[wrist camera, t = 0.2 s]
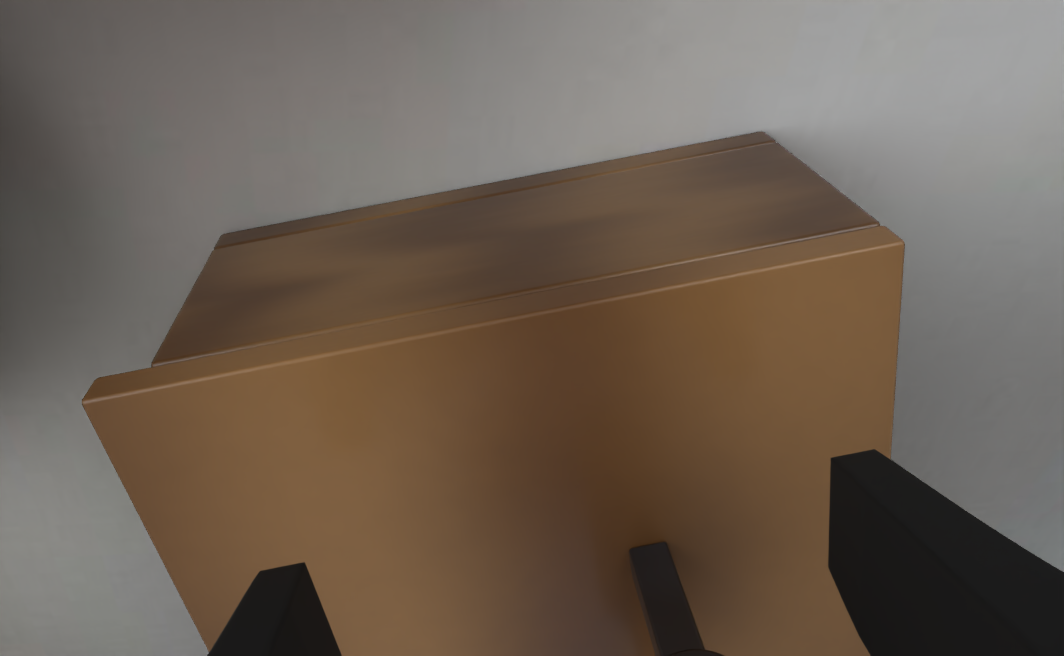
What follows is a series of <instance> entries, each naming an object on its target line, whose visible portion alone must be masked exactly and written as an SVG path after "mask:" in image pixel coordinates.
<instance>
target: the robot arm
mask: <svg viewBox="0 0 1064 656" xmlns="http://www.w3.org/2000/svg"><path fill="white" fill-rule="evenodd" d="M828 568H829V570H830V573H831V575H832V577H833V580H834V582H835V584H836V586H837V589H838V591H839V593H840V596H841V598H842V600H843V603H844V605H845V607H846V609H847V611H848V613H849V616H850V618H851V620H852V622H853V624H854V626H855V628H856V631H857V633H858V635H859V637H860V639H861V640H862V642H863V644H864V645H865V647H866V649H867V650H868V652H869V654H870V656H1064V572H1062V571H1060V570H1059V569H1057V568H1055V567H1054V566H1052V565H1050V564H1049V563H1047V562H1045V561H1044V560H1042V559H1040V558H1039V557H1037V556H1035V555H1034V554H1032V553H1031V552H1029V551H1027V550H1026V549H1024V548H1022V547H1021V546H1019V545H1018V544H1016V543H1015V542H1013V541H1011V540H1010V539H1008V538H1007V537H1005V536H1003V535H1002V534H1000V533H999V532H997V531H996V530H994V529H993V528H991V527H989V526H988V525H986V524H985V523H983V522H982V521H980V520H979V519H977V518H976V517H974V516H973V515H971V514H970V513H968V512H967V511H965V510H964V509H962V508H961V507H959V506H958V505H956V504H955V503H953V502H952V501H950V500H949V499H947V498H946V497H944V496H943V495H941V494H940V493H939V492H937V491H936V490H934V489H933V488H931V487H930V486H928V485H927V484H925V483H924V482H922V481H921V480H920V479H918V478H917V477H915V476H914V475H912V474H911V473H909V472H908V471H906V470H905V469H904V468H902V467H901V466H899V465H898V464H896V463H895V462H893V461H892V460H890V459H889V458H887V457H886V456H884V455H883V454H881V453H880V452H878V451H877V450H875V449H872V450H867V451H862V452H857V453H852V454H847V455H842V456H837V457H832V458H831V465H830V508H829V550H828ZM207 656H342V655H341V652H340V650H339V647H338V645H337V642H336V640H335V637H334V635H333V632H332V629H331V627H330V624H329V622H328V619H327V617H326V614H325V612H324V609H323V607H322V604H321V602H320V599H319V597H318V594H317V592H316V589H315V587H314V584H313V582H312V579H311V576H310V574H309V571H308V569H307V566H306V564H305V562H302V563H297V564H292V565H287V566H282V567H277V568H272V569H267V570H262V571H259V573H258V574H257V576H256V577H255V578H254V580H253V581H252V583H251V585H250V586H249V588H248V590H247V591H246V593H245V594H244V596H243V598H242V599H241V601H240V603H239V604H238V606H237V608H236V609H235V611H234V613H233V614H232V616H231V618H230V619H229V621H228V623H227V624H226V626H225V628H224V629H223V631H222V632H221V634H220V636H219V637H218V639H217V641H216V642H215V644H214V645H213V647H212V649H211V650H210V652H209V654H208V655H207Z"/></svg>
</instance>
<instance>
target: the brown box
mask: <svg viewBox="0 0 1064 656" xmlns="http://www.w3.org/2000/svg"><path fill="white" fill-rule="evenodd" d="M904 249H905V244H904V241H903V240H902V239H901V238H899V237H898V236H897V235H896V234H894V233H893V232H892V231H891V230H889V229H888V228H887V227H885V226H878V227H873V228H868V229H863V230H858V231H853V232H848V233H842V234H837V235H832V236H827V237H822V238H817V239H811V240H806V241H801V242H796V243H791V244H786V245H780V246H775V247H770V248H765V249H760V250H755V251H750V252H744V253H739V254H734V255H729V256H724V257H719V258H713V259H708V260H703V261H698V262H693V263H688V264H682V265H677V266H672V267H667V268H662V269H657V270H652V271H646V272H641V273H636V274H631V275H626V276H621V277H615V278H610V279H605V280H600V281H595V282H590V283H584V284H579V285H574V286H569V287H564V288H559V289H554V290H548V291H543V292H538V293H533V294H528V295H523V296H517V297H512V298H507V299H502V300H497V301H492V302H486V303H481V304H476V305H471V306H466V307H461V308H456V309H450V310H445V311H440V312H435V313H430V314H425V315H419V316H414V317H409V318H404V319H399V320H394V321H388V322H383V323H378V324H373V325H368V326H363V327H358V328H352V329H347V330H342V331H337V332H332V333H327V334H321V335H316V336H311V337H306V338H301V339H296V340H290V341H285V342H280V343H275V344H270V345H265V346H260V347H254V348H249V349H244V350H239V351H234V352H229V353H223V354H218V355H213V356H208V357H203V358H198V359H192V360H187V361H182V362H177V363H172V364H167V365H162V366H156V367H151V368H146V369H141V370H136V371H131V372H125V373H120V374H115V375H110V376H105V377H100V378H97V379H96V380H95V381H94V382H93V384H92V385H91V387H90V388H89V390H88V392H87V393H86V395H85V396H84V398H83V399H82V405H83V407H84V409H85V411H86V413H87V415H88V417H89V419H90V421H91V423H92V425H93V427H94V429H95V431H96V433H97V435H98V437H99V439H100V440H101V442H102V444H103V446H104V448H105V450H106V452H107V454H108V456H109V458H110V460H111V462H112V464H113V466H114V468H115V470H116V472H117V474H118V476H119V477H120V479H121V481H122V483H123V485H124V487H125V489H126V491H127V493H128V495H129V497H130V499H131V501H132V503H133V505H134V507H135V509H136V511H137V513H138V514H139V516H140V518H141V520H142V522H143V524H144V526H145V528H146V530H147V532H148V534H149V536H150V538H151V540H152V542H153V544H154V546H155V548H156V550H157V551H158V553H159V555H160V557H161V559H162V561H163V563H164V565H165V567H166V569H167V571H168V573H169V575H170V577H171V579H172V581H173V583H174V585H175V587H176V588H177V590H178V592H179V594H180V596H181V598H182V600H183V602H184V604H185V606H186V608H187V610H188V612H189V614H190V616H191V618H192V620H193V622H194V624H195V626H196V627H197V629H198V631H199V633H200V635H201V637H202V639H203V641H204V643H205V645H206V647H207V649H208V651H209V652H210V650H211V649H212V647H213V645H214V644H215V642H216V641H217V639H218V637H219V636H220V634H221V632H222V631H223V629H224V628H225V626H226V624H227V623H228V621H229V619H230V618H231V616H232V614H233V613H234V611H235V609H236V608H237V606H238V604H239V603H240V601H241V599H242V598H243V596H244V594H245V593H246V591H247V590H248V588H249V586H250V585H251V583H252V581H253V580H254V578H255V577H256V576H257V574H258V573H259V571H262V570H267V569H272V568H277V567H282V566H287V565H292V564H297V563H302V562H305V564H306V566H307V569H308V571H309V574H310V576H311V579H312V582H313V584H314V587H315V589H316V592H317V594H318V597H319V599H320V602H321V604H322V607H323V609H324V612H325V614H326V617H327V619H328V622H329V624H330V627H331V629H332V632H333V635H334V637H335V640H336V642H337V645H338V647H339V650H340V652H341V655H342V656H870V654H869V652H868V650H867V649H866V647H865V645H864V644H863V642H862V640H861V639H860V637H859V635H858V633H857V631H856V628H855V626H854V624H853V622H852V620H851V618H850V616H849V613H848V611H847V609H846V607H845V605H844V603H843V600H842V598H841V596H840V593H839V591H838V589H837V586H836V584H835V582H834V580H833V577H832V575H831V573H830V570H829V568H828V550H829V508H830V465H831V458H832V457H837V456H842V455H847V454H852V453H857V452H862V451H867V450H872V449H875V450H877V451H878V452H880V453H881V454H883V455H884V456H886V457H887V458H889V459H890V460H891V445H892V430H893V415H894V400H895V385H896V370H897V355H898V339H899V324H900V309H901V294H902V279H903V264H904Z"/></svg>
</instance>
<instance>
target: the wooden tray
mask: <svg viewBox="0 0 1064 656" xmlns="http://www.w3.org/2000/svg"><path fill="white" fill-rule="evenodd" d="M878 226H880V224H879V222H878V221H877V220H876V219H874V218H873V217H872V216H870V215H869V214H868V213H867V212H865V211H864V210H863V209H862V208H860V207H859V206H858V205H856V204H855V203H854V202H853V201H851V200H850V199H849V198H848V197H846V196H845V195H844V194H842V193H841V192H840V191H839V190H837V189H836V188H835V187H834V186H832V185H831V184H830V183H828V182H827V181H826V180H825V179H823V178H822V177H821V176H820V175H818V174H817V173H816V172H814V171H813V170H812V169H811V168H809V167H808V166H807V165H806V164H804V163H803V162H802V161H800V160H799V159H798V158H797V157H795V156H794V155H793V154H792V153H790V152H789V151H788V150H786V149H785V148H784V147H783V146H781V145H780V144H779V143H776V142H775V140H774V139H772V138H771V137H770V136H769V135H767V134H766V133H765V132H756V133H751V134H746V135H740V136H735V137H730V138H725V139H719V140H714V141H709V142H704V143H698V144H693V145H688V146H683V147H677V148H672V149H667V150H662V151H656V152H651V153H646V154H641V155H636V156H630V157H625V158H620V159H615V160H609V161H604V162H599V163H594V164H588V165H583V166H578V167H573V168H567V169H562V170H557V171H552V172H546V173H541V174H536V175H531V176H525V177H520V178H515V179H510V180H505V181H499V182H494V183H489V184H484V185H478V186H473V187H468V188H463V189H457V190H452V191H447V192H442V193H436V194H431V195H426V196H421V197H415V198H410V199H405V200H400V201H394V202H389V203H384V204H379V205H373V206H368V207H363V208H358V209H353V210H347V211H342V212H337V213H332V214H326V215H321V216H316V217H311V218H305V219H300V220H295V221H290V222H284V223H279V224H274V225H269V226H263V227H258V228H253V229H248V230H242V231H237V232H232V233H227V234H223V235H221V236H220V238H219V240H218V242H217V244H216V245H215V247H214V251H212V253H211V255H210V256H209V258H208V260H207V262H206V264H205V266H204V267H203V269H202V271H201V273H200V275H199V277H198V278H197V280H196V282H195V284H194V286H193V288H192V289H191V291H190V293H189V295H188V297H187V299H186V300H185V302H184V304H183V306H182V308H181V310H180V311H179V313H178V315H177V317H176V319H175V321H174V323H173V324H172V326H171V328H170V330H169V332H168V334H167V335H166V337H165V339H164V341H163V343H162V345H161V346H160V348H159V350H158V352H157V354H156V356H155V357H154V359H153V361H152V364H151V367H156V366H162V365H167V364H172V363H177V362H182V361H187V360H192V359H198V358H203V357H208V356H213V355H218V354H223V353H229V352H234V351H239V350H244V349H249V348H254V347H260V346H265V345H270V344H275V343H280V342H285V341H290V340H296V339H301V338H306V337H311V336H316V335H321V334H327V333H332V332H337V331H342V330H347V329H352V328H358V327H363V326H368V325H373V324H378V323H383V322H388V321H394V320H399V319H404V318H409V317H414V316H419V315H425V314H430V313H435V312H440V311H445V310H450V309H456V308H461V307H466V306H471V305H476V304H481V303H486V302H492V301H497V300H502V299H507V298H512V297H517V296H523V295H528V294H533V293H538V292H543V291H548V290H554V289H559V288H564V287H569V286H574V285H579V284H584V283H590V282H595V281H600V280H605V279H610V278H615V277H621V276H626V275H631V274H636V273H641V272H646V271H652V270H657V269H662V268H667V267H672V266H677V265H682V264H688V263H693V262H698V261H703V260H708V259H713V258H719V257H724V256H729V255H734V254H739V253H744V252H750V251H755V250H760V249H765V248H770V247H775V246H780V245H786V244H791V243H796V242H801V241H806V240H811V239H817V238H822V237H827V236H832V235H837V234H842V233H848V232H853V231H858V230H863V229H868V228H873V227H878Z"/></svg>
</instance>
